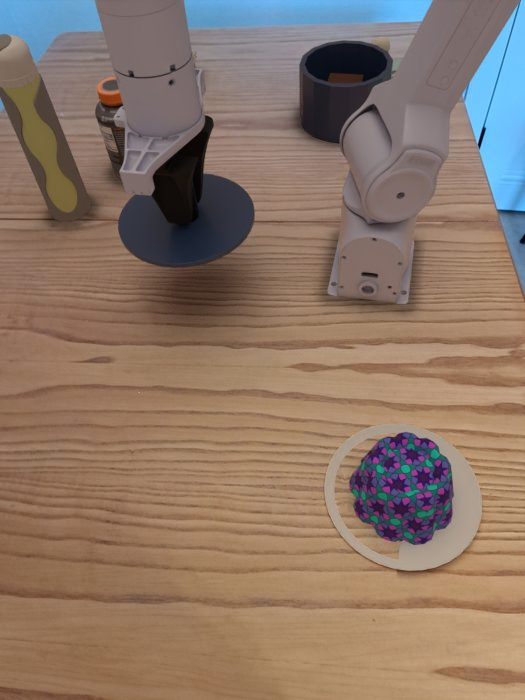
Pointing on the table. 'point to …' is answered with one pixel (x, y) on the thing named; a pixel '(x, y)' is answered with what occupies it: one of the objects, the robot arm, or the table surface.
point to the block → (345, 78)
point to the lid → (189, 226)
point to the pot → (338, 84)
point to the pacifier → (385, 45)
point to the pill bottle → (111, 122)
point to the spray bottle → (40, 132)
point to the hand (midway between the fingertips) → (184, 210)
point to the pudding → (410, 496)
